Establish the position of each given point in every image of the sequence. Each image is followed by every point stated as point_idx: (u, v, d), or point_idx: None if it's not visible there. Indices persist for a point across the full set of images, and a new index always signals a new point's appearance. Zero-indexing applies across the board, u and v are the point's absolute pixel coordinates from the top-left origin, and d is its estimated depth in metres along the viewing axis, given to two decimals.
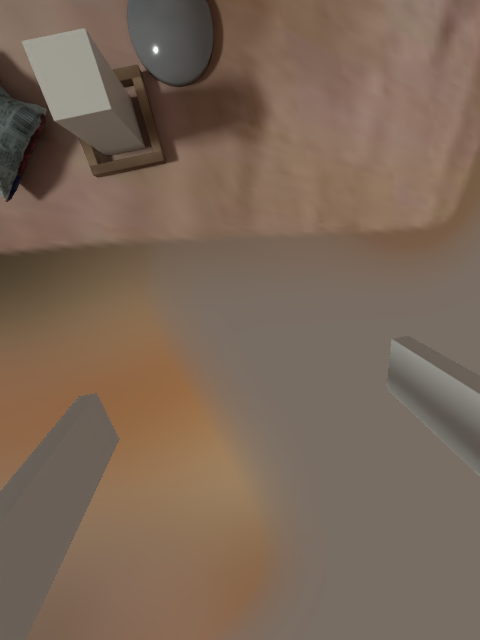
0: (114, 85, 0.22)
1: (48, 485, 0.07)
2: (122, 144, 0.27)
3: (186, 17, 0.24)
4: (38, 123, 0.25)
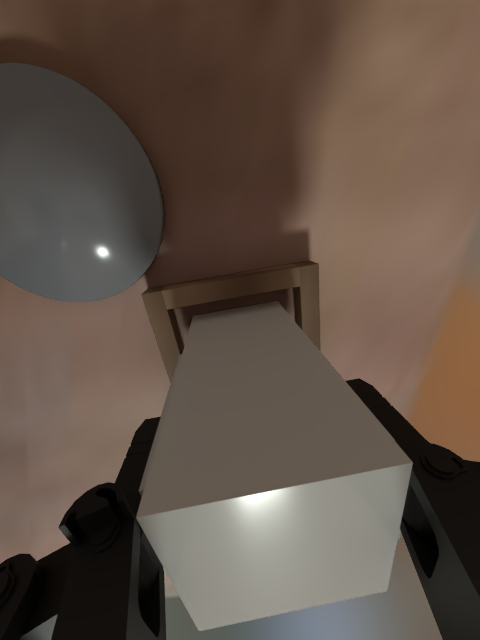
0: (226, 372, 0.07)
1: None
2: None
3: (20, 154, 0.09)
4: None
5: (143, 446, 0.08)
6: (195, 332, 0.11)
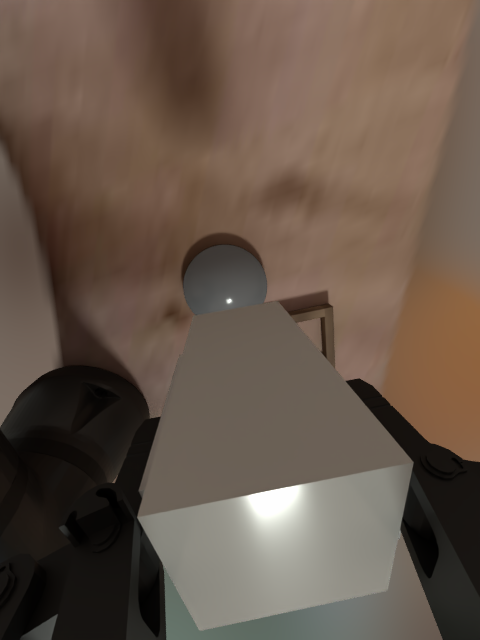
0: (226, 372, 0.07)
1: None
2: None
3: (217, 273, 0.24)
4: None
5: (143, 446, 0.08)
6: (195, 332, 0.11)
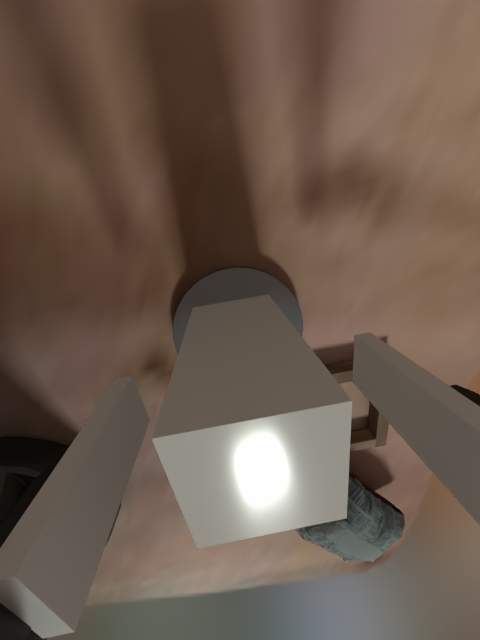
0: (220, 349, 0.09)
1: (102, 451, 0.07)
2: None
3: None
4: (359, 482, 0.20)
5: None
6: (194, 320, 0.12)
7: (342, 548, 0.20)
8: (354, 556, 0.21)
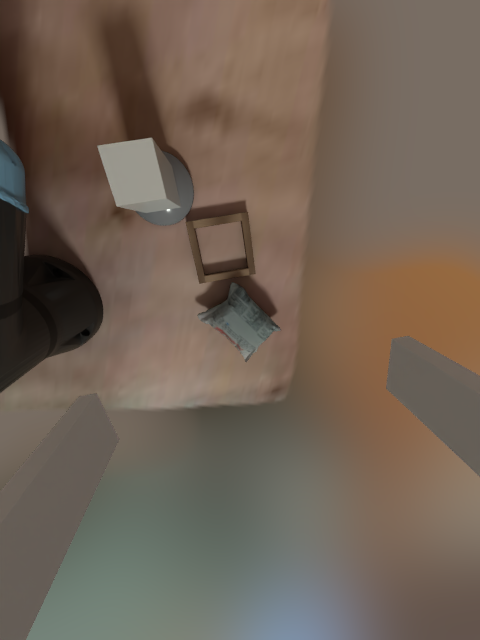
0: None
1: (48, 485, 0.07)
2: (172, 179, 0.29)
3: None
4: (243, 288, 0.35)
5: None
6: None
7: (233, 327, 0.35)
8: (241, 336, 0.36)
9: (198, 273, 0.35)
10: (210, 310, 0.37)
